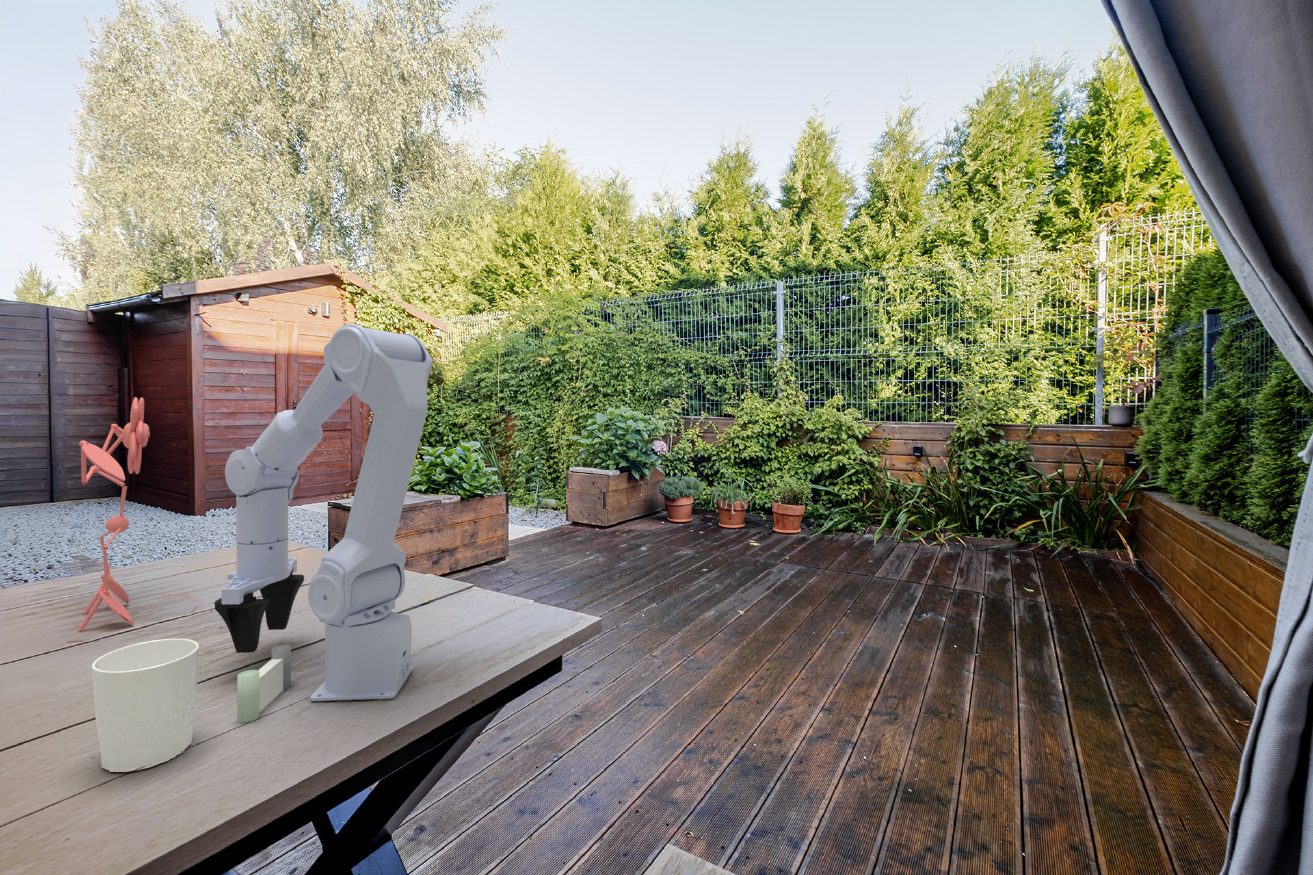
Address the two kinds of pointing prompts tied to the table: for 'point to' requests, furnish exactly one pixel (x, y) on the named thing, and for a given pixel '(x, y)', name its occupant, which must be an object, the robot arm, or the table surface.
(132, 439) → the figurine
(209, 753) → the table surface
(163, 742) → the white cup
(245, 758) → the table surface
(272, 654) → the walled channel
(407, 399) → the robot arm
